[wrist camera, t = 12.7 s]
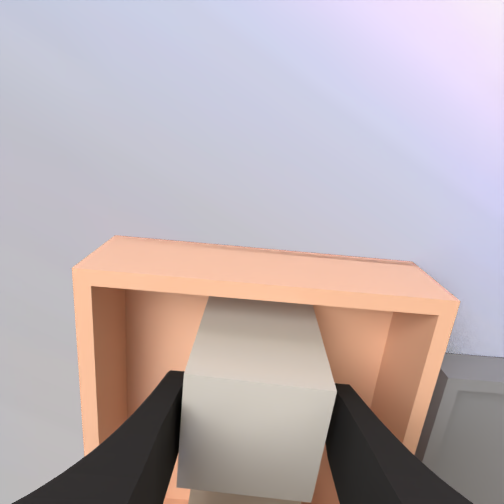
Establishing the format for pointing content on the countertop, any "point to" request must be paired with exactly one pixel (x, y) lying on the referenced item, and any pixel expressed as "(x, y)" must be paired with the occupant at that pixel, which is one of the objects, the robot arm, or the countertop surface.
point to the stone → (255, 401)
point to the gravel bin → (255, 288)
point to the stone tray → (467, 427)
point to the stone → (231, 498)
